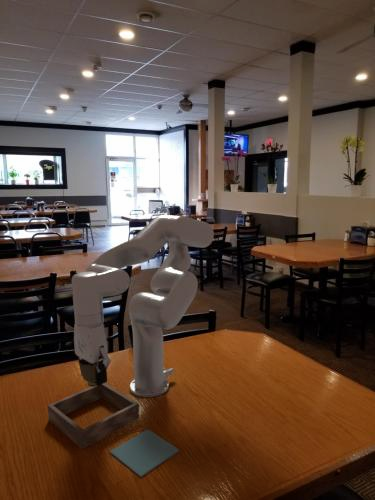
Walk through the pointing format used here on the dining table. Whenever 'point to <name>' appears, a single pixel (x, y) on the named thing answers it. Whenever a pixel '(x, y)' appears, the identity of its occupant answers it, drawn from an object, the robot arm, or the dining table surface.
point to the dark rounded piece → (88, 371)
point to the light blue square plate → (144, 452)
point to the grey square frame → (99, 428)
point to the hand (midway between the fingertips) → (94, 378)
